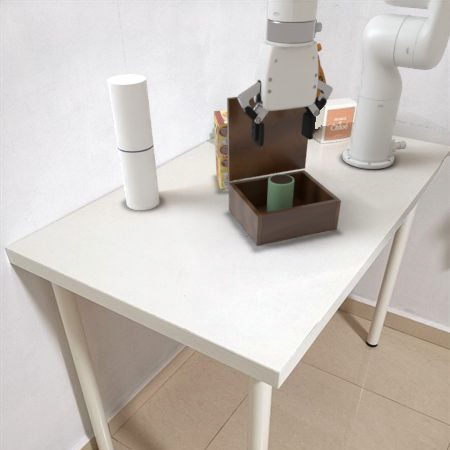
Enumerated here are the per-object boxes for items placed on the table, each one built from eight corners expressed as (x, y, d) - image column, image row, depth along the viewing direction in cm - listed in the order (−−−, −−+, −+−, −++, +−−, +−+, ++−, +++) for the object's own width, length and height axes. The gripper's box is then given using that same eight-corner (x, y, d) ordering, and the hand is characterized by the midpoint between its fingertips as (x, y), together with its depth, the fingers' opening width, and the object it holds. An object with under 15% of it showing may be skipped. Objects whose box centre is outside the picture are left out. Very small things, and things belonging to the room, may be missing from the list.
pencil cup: (284, 209, 97) (287, 172, 92) (295, 220, 94) (299, 182, 89) (262, 213, 96) (264, 176, 91) (272, 224, 92) (274, 186, 87)
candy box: (238, 191, 106) (238, 122, 96) (219, 193, 106) (217, 123, 96) (232, 175, 113) (232, 109, 103) (214, 176, 112) (212, 110, 103)
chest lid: (313, 88, 88) (300, 81, 91) (228, 98, 83) (218, 91, 87) (305, 168, 97) (294, 159, 101) (229, 181, 93) (220, 171, 97)
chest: (336, 232, 91) (341, 200, 87) (256, 249, 87) (257, 216, 83) (301, 200, 102) (304, 169, 98) (228, 213, 98) (228, 182, 94)
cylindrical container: (126, 211, 99) (106, 85, 84) (126, 196, 105) (107, 75, 89) (160, 208, 100) (146, 83, 84) (158, 193, 106) (145, 73, 90)
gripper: (326, 25, 79) (315, 128, 90) (230, 32, 75) (230, 139, 85) (350, 32, 74) (335, 141, 84) (248, 40, 69) (246, 154, 80)
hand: (282, 140), depth 85 cm, fingers open, 9 cm apart
